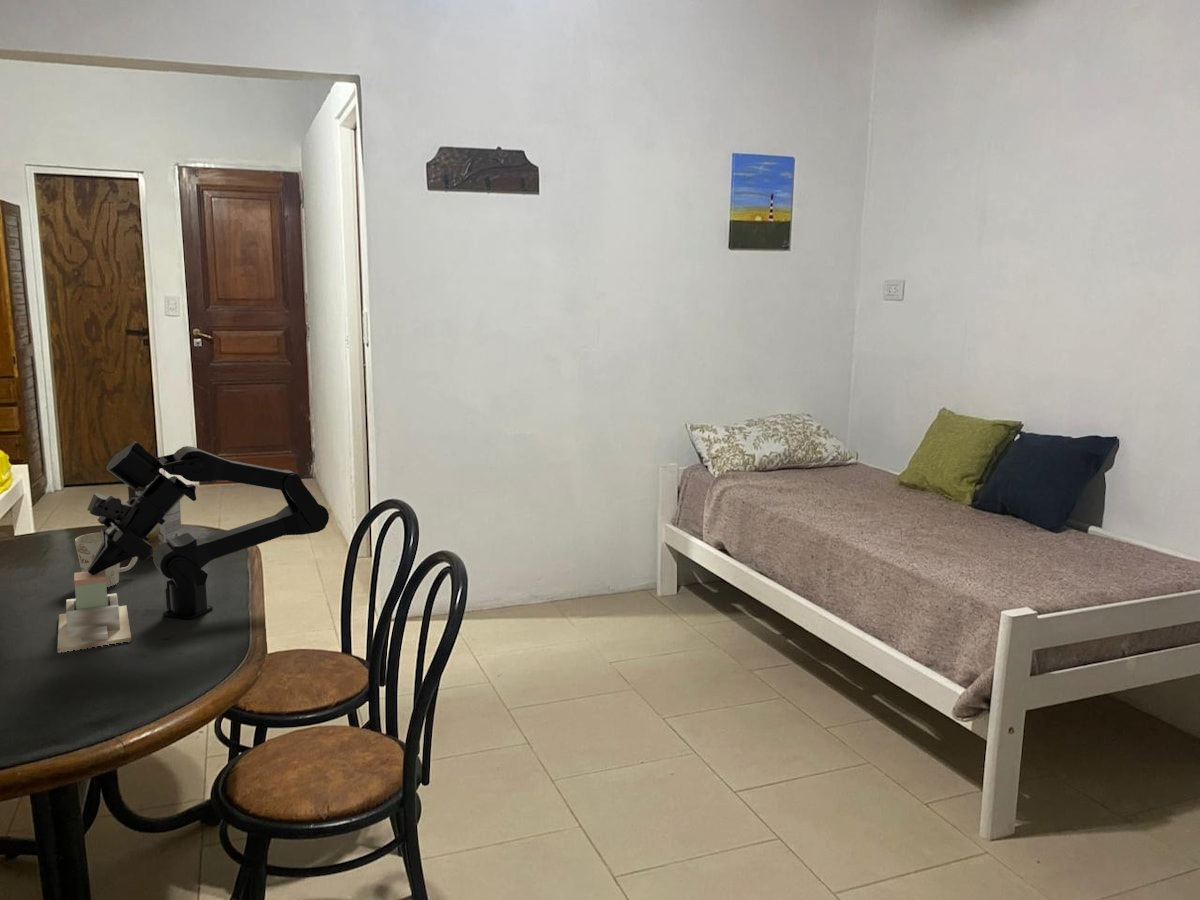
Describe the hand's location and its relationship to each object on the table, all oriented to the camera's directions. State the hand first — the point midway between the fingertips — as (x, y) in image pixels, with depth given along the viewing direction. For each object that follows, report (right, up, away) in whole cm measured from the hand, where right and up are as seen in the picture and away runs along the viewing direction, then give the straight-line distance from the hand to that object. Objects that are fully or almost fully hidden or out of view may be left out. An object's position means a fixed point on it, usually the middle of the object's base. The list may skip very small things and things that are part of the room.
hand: (90, 573), depth 161 cm
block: (0, -8, +1) cm, 8 cm away
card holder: (0, -10, +2) cm, 11 cm away
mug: (-11, -6, +28) cm, 31 cm away
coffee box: (-11, -2, +48) cm, 50 cm away
